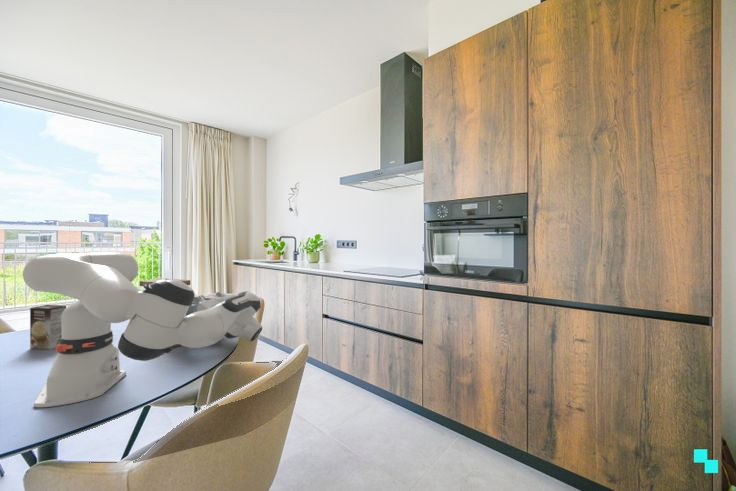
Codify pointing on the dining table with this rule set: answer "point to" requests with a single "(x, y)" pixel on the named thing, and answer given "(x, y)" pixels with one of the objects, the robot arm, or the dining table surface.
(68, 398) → the robot arm
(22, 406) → the dining table surface
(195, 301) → the aluminium bar
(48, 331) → the coffee box
